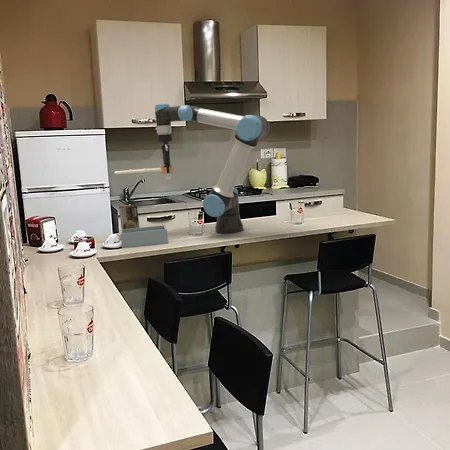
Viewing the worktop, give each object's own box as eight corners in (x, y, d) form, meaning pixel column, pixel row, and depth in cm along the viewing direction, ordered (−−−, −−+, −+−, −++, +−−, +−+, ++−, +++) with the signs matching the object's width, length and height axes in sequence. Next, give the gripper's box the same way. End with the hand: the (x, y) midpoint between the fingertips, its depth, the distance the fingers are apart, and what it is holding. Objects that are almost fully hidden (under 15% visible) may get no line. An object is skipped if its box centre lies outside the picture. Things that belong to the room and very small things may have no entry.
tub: (166, 240, 264) (164, 225, 263) (168, 245, 253) (166, 229, 251) (122, 245, 260) (120, 229, 259) (122, 250, 249) (120, 233, 247)
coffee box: (137, 232, 292) (135, 204, 289) (140, 234, 286) (137, 205, 283) (121, 234, 289) (118, 206, 286) (123, 236, 283) (120, 207, 280)
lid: (171, 172, 279) (170, 163, 278) (173, 173, 266) (172, 164, 266) (115, 176, 273) (114, 168, 273) (114, 178, 261) (114, 169, 260)
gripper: (155, 134, 276) (159, 178, 280) (158, 134, 260) (162, 181, 264) (170, 133, 277) (173, 177, 281) (173, 133, 261) (177, 179, 265)
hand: (168, 179), depth 273 cm, fingers closed on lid, 3 cm apart
